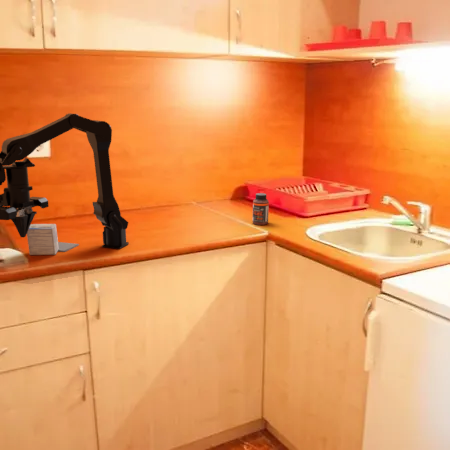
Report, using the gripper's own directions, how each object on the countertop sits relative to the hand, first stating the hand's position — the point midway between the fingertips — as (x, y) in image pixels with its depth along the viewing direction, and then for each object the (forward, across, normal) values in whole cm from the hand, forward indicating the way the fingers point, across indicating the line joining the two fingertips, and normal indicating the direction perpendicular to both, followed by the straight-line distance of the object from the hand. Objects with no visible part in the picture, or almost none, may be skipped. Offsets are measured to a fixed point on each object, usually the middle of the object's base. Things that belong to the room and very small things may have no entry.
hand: (23, 237), depth 156 cm
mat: (+8, -16, +1) cm, 18 cm away
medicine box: (+7, -9, 0) cm, 11 cm away
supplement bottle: (+8, -67, +54) cm, 86 cm away
